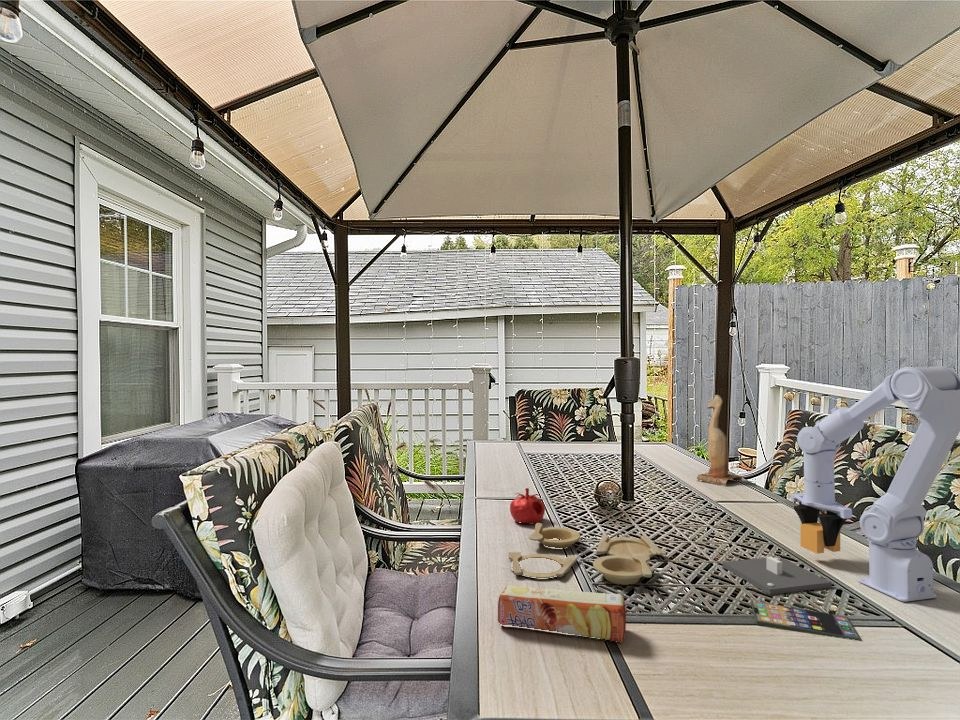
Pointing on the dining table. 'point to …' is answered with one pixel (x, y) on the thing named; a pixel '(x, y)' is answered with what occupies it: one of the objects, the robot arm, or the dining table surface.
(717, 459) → the bird sculpture
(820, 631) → the smartphone
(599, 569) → the tableware set
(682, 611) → the dining table surface
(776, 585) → the plate
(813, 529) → the orange block
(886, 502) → the robot arm
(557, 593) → the snack package
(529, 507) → the pomegranate
